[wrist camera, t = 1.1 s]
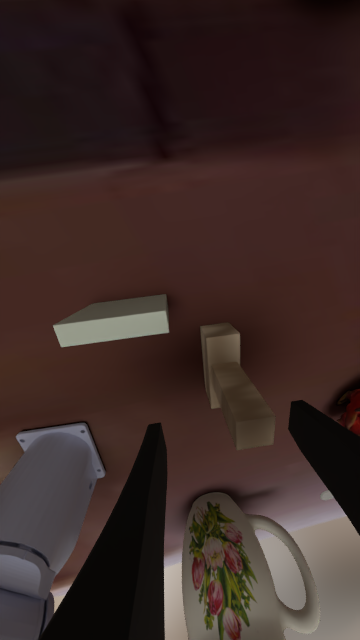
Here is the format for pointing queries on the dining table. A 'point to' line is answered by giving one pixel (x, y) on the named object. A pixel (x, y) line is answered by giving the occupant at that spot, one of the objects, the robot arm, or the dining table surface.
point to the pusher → (234, 388)
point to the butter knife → (326, 495)
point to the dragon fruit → (351, 411)
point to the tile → (115, 321)
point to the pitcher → (237, 576)
